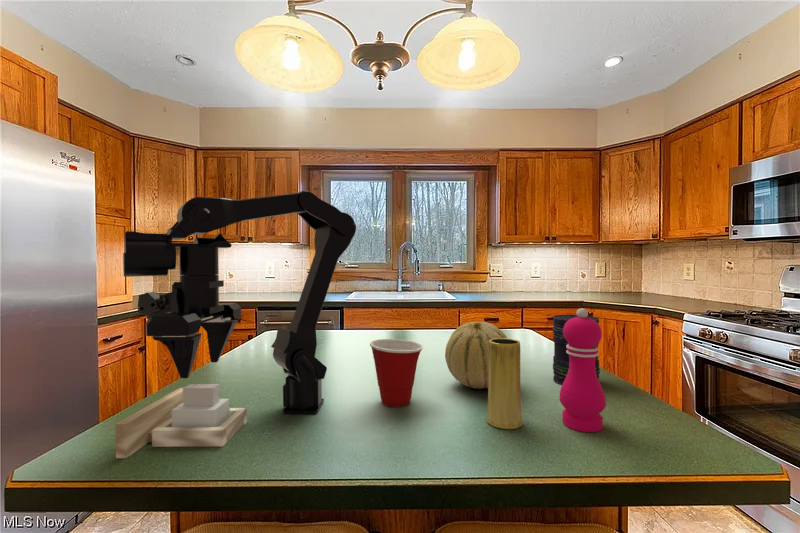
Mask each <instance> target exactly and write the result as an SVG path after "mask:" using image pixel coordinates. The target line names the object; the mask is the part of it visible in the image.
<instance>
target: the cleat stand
mask: <svg viewBox="0 0 800 533" xmlns="http://www.w3.org/2000/svg"><path fill="white" fill-rule="evenodd" d="M183 388H184V387H178V388H177V389H175V390H174V391H172V392H169V393H168V394H166V395H164V396H163V397H161V398H159V399H158V400H156V401H154V402H152V403H151V404H149V405H147V406H145V407H143V408H142V409H140V410H138V411H136V412H134V413H132V414H131V415H129V416H127V417H125V418H124V419H122V420H121V421H119V422H117V423H115V425H114V427H115V429H114V430H115V458H116V459H127V458H129V457H130V456H132V455H133V454H134V453H135V452H138V451H139V450H140V449H141V448H143V447H144V446H146V445H147V444H148V443H151V445H152V446H151V447H154V448H155V447H156V448H157V447H162V448H163V447H167V448H170V447H173V448H174V447H181V448H182V447H192V448H194V447H224V446H225V445H226V444H227V443H228V442H229V441H230V440H231V439H232V438H233V437H234V436H235V435H236V434H237V433H238V432H239V431H240V430H241V428H242V427H244V426H245V424H247V422H248V416H247V415H248V409H247V407H230V417H229V418H228V419H227V420H226V421H225V422H224V423H223V424H221V425H220V426H219V427H172V409H174V408H176V407H177V406H179V405H180V404H182V403H183Z"/></svg>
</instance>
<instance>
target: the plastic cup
mask: <svg viewBox="0 0 800 533" xmlns="http://www.w3.org/2000/svg"><path fill="white" fill-rule="evenodd" d="M369 346H370V347H371V351H372V357H373V361H374V366H375V374H376V379H377V386H378V389H379V395H380V400H381V403H382V404H383V405H384V406H386V407H394V408H400V407H405V406H407V405H409V404H410V402H411V399H412V393H413V387H414V384H415V383H414V382H415V378H416V372H417V365H418V360H419V356H420V353H422V351H423V348H424V345H422V343H420V342H417V341H413V340H408V339H399V338H397V339H396V338H380V339H379V338H378V339H374V340H371V341H370V342H369Z"/></svg>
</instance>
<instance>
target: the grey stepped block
mask: <svg viewBox="0 0 800 533" xmlns="http://www.w3.org/2000/svg"><path fill="white" fill-rule="evenodd" d="M182 388H183V403H182V404H180V405H179V406H177V407H176V408H174V409H172V427H219V426H220V425H221V424H223V423H224V422H225V421H226V420H227V419H228V418H229V417H230V408H231V406H230V403H231V402H230V398H220V384H219V383H214V384H213V383H207V384H206V383H199V384H198V383H197V384H196V383H189V384H188V385H186V386H184V387H182Z"/></svg>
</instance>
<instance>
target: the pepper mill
mask: <svg viewBox="0 0 800 533" xmlns="http://www.w3.org/2000/svg"><path fill="white" fill-rule="evenodd" d="M575 315H577V316H578V317H575V318H572V319H570V320H568V321H567V322H566V323H565V325H564V328H563V335H564V338H565V339H566V340H567V342H568V344H567V345H566V347H567V350H566V353H567V354H569V361H570V362H569V370H568V374H567V376H566V378H565V380H564V382H563V384H562V385H560V386H561V387H560V389H559V390H560V391H559V396H558V397H559V402H560V404H561V405H562V406H563V408H564V409H563V410H562V419H561V420H562V423H563V425H565V426H566V427H568V428H569V429H572V430H574V431H578V432H584V433H597V432H600V431H602V430H603V428H604V420H603V418H604V417H603V416H602V415H601V413H602V412H603V411H604V410H605V408H606V406H607V398H606V394H605V391H604V389H603V387H602V384H601V383H600V381H599V379H598V378H597V375H596V371H595V360H596V356H598V357H599V355H600V354H599V349H600V348H599V346H598V347H597V346H596V345H597V344H598V342H599V343H600V342H601V340H602V336H603V332H602V327H601V326H600V324H599V323H597V322H596V321H594V320H592V319H590V318H586V317H587V316H589V313H588V311H587V309H586V308H583V307H582V308H578V309H576V313H575ZM598 345H599V344H598Z"/></svg>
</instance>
